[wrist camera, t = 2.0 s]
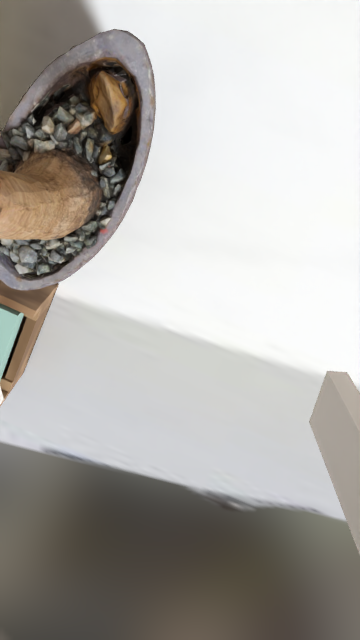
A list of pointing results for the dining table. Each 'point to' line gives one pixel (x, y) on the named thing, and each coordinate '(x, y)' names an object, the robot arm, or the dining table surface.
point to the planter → (74, 158)
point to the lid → (8, 332)
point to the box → (24, 328)
